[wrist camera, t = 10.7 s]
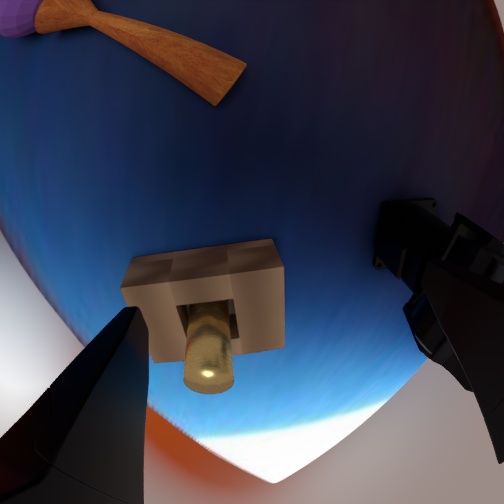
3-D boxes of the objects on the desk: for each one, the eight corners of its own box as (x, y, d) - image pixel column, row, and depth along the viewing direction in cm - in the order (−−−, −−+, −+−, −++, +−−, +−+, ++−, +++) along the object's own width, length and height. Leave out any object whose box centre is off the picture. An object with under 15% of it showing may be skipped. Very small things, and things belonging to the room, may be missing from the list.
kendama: (198, 136, 14) (-35, 36, 5) (205, 112, 18) (12, 28, 9) (267, 47, 11) (2, -42, 2) (255, 48, 15) (46, -34, 6)
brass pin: (224, 281, 21) (229, 363, 15) (230, 310, 23) (237, 391, 16) (186, 286, 21) (176, 368, 14) (195, 314, 23) (190, 395, 16)
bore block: (271, 238, 22) (283, 266, 18) (275, 315, 26) (284, 347, 22) (132, 257, 21) (120, 288, 17) (159, 330, 25) (154, 362, 21)
